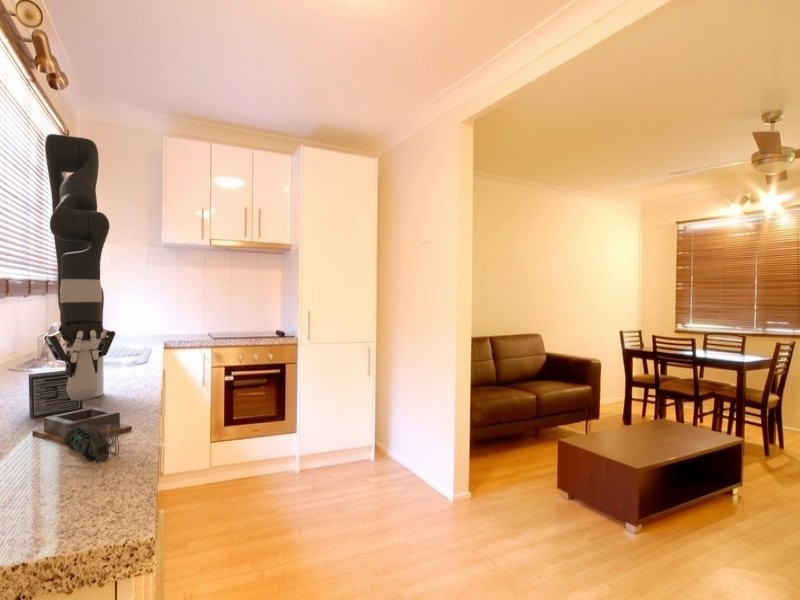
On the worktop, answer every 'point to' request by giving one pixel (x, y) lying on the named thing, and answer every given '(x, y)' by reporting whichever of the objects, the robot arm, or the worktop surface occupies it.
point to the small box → (50, 395)
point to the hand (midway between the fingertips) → (82, 377)
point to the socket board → (81, 423)
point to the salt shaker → (83, 375)
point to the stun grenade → (91, 442)
